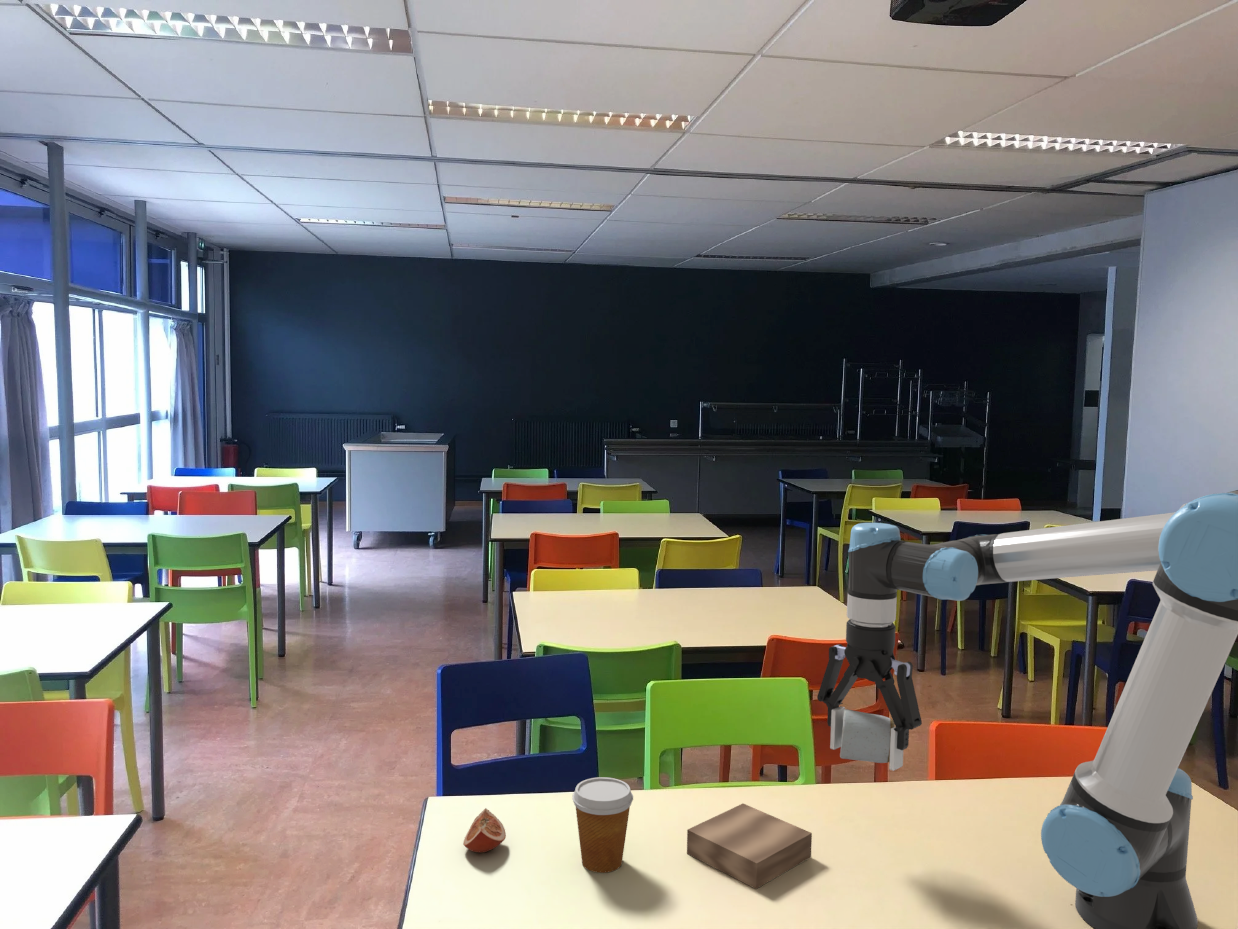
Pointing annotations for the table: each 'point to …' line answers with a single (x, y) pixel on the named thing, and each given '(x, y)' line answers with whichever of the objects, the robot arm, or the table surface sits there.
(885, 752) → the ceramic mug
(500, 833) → the fruit slice
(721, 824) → the block
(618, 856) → the disposable coffee cup
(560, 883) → the table surface
